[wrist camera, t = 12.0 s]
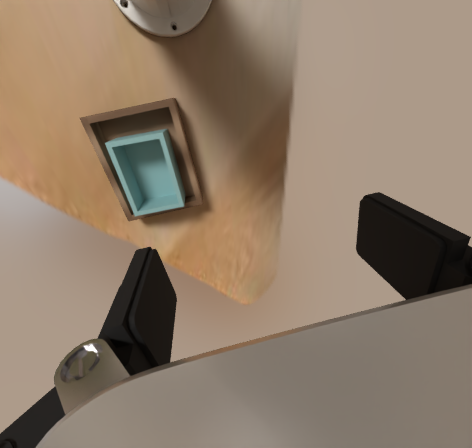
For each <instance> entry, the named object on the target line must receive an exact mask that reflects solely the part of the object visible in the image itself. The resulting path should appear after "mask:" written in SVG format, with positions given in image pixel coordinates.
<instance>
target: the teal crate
mask: <svg viewBox="0 0 472 448" xmlns="http://www.w3.org/2000/svg"><path fill="white" fill-rule="evenodd" d="M105 145H106V147H107V150H108V152H109V155H110V157H111V160H112V162H113V164H114V167H115V169H116V172H117V174H118V176H119V179H120V181H121V184H122V186H123V189H124V191H125V193H126V196H127V198H128V201H129V203H130V205H131V208H132V210H133V213H134V215H135V216H139V215H144V214H149V213H154V212H159V211H164V210H169V209H174V208H179V207H184V204H185V196H186V193H185V190H184V186H183V183H182V179H181V175H180V172H179V168H178V165H177V161H176V157H175V154H174V150H173V147H172V143H171V139H170V136H169V132H168V129H162V130H157V131H151V132H146V133H140V134H135V135H129V136H124V137H118V138H115V139H113V140H111V141H108V142H106V143H105Z"/></svg>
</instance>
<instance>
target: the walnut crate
mask: <svg viewBox="0 0 472 448" xmlns="http://www.w3.org/2000/svg"><path fill="white" fill-rule="evenodd" d="M80 120H81V122H82V124H83V126H84V129H85V131H86V133H87V135H88V137H89V139H90V141H91V143H92V145H93V147H94V150H95V152H96V154H97V156H98V158H99V160H100V162H101V164H102V166H103V169H104V171H105V173H106V175H107V177H108V179H109V181H110V183H111V185H112V188H113V190H114V192H115V194H116V196H117V198H118V200H119V202H120V204H121V207H122V209H123V211H124V213H125V215H126V217H127V219H128V221H132V220H137V219H141V218H145V217H149V216H154V215H158V214H162V213H166V212H171V211H175V210H179V209H184V208H188V207H192V206H196V205H201V204H203V196H202V192H201V188H200V185H199V181H198V178H197V174H196V170H195V167H194V163H193V160H192V156H191V153H190V149H189V145H188V142H187V138H186V135H185V131H184V127H183V124H182V120H181V117H180V113H179V109H178V106H177V102H176V99H175V98H171V99H166V100H161V101H157V102H152V103H147V104H143V105H138V106H133V107H129V108H124V109H119V110H115V111H110V112H105V113H101V114H96V115H91V116H86V117H82V118H80ZM162 129H168V132H169V136H170V139H171V143H172V147H173V150H174V154H175V157H176V161H177V165H178V168H179V172H180V175H181V179H182V183H183V186H184V190H185V193H186V196H185V204H184V207H179V208H174V209H169V210H164V211H159V212H154V213H149V214H144V215H139V216H135V215H134V213H133V210H132V208H131V205H130V203H129V201H128V198H127V196H126V193H125V191H124V189H123V186H122V184H121V181H120V179H119V176H118V174H117V172H116V169H115V167H114V164H113V162H112V160H111V157H110V155H109V152H108V150H107V147H106V145H105V143H106V142H108V141H111V140H113V139H115V138H118V137H124V136H129V135H135V134H140V133H146V132H151V131H157V130H162Z"/></svg>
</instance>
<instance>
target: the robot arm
mask: <svg viewBox="0 0 472 448" xmlns="http://www.w3.org/2000/svg"><path fill="white" fill-rule="evenodd" d="M113 1H114V2H115V4H116V5H117V6H118V8H119V9H120V10H121V11H122V12H123V14H124V15H125V16H126V17H127V18H128V19H129V20H130V21H132V22H133V23H134V24H135V25H137V26H138V27H139V28H141V29H143V30H145V31H146V32H148V33H151V34H154V35H157V36H162V37H175V36H180V35H182V34H185V33H187V32H189V31H190V30H192V29H193V28H195V27H196V26H197V25H198V24H199V23H200V22H201V20H202V19H203V18H204V16H205V15H206V13H207V11H208V9H209V7H210V4H211V2H212V0H113ZM125 3H127V4H128V7H127V8H125V7H124V4H125ZM173 26H176V27H177V29H176V30H173V29H172V27H173ZM470 238H471V237H469V236H467V235H465V234H463V233H461V232H459V231H457V230H455V229H453V228H451V227H449V226H447V225H445V224H443V223H441V222H439V221H437V220H435V219H433V218H431V217H429V216H427V215H424V214H423V213H421V212H418V211H416V210H414V209H412V208H410V207H408V206H406V205H404V204H402V203H400V202H398V201H396V200H394V199H392V198H390V197H388V196H386V195H384V194H382V193H379V192H378V193H373V194H369V195H365V196H364V197H363V199H362V200H361V201H360V208H359V220H358V231H357V244H356V250H357V253H358V254H359V256H361V258H362V259H364V260H365V261H366V262H367V263H368V264H369V265H370V266H371V267H372V268H373V269H374V270H375V271H376V272H377V273H378V274H379V275H380V276H382V277H383V278H384V279H385V280H386V281H387V282H388V283H389V284H390V285H391V286H392V287H393V288H394V289H395V290H396V291H397V292H399V293H400V294H401V295H402V296H403V297H404V298H405V299H406V300H405V301H401V302H397V303H393V304H389V305H385V306H381V307H377V308H373V309H369V310H365V311H361V312H357V313H353V314H350V315H346V316H342V317H339V318H334V319H330V320H326V321H323V322H319V323H315V324H311V325H307V326H304V327H300V328H296V329H292V330H288V331H284V332H281V333H277V334H273V335H269V336H265V337H262V338H258V339H254V340H250V341H247V342H243V343H239V344H235V345H232V346H228V347H224V348H220V349H217V350H213V351H209V352H206V353H202V354H199V355H196V356H192V357H188V358H184V359H181V360H178V361H174V362H170V358H171V349H172V340H173V330H174V321H175V312H176V311H175V310H176V302H177V298H176V294H175V291H174V289H173V286H172V284H171V282H170V279H169V277H168V275H167V272H166V270H165V268H164V265H163V263H162V261H161V259H160V256H159V254H158V252H157V250H156V249H153V250H152V248H151V247H147V248H143V249H138V250H136V251H135V254H134V256H133V259H132V261H131V263H130V266H129V268H128V271H127V273H126V275H125V278H124V280H123V282H122V285H121V286H120V287H119V289H118V292H117V294H116V296H115V299H114V301H113V304H112V306H111V308H110V311H109V313H108V315H107V318H106V320H105V322H104V325H103V327H102V329H101V332H100V334H99V336H98V339H92V340H89V341H86V342H84V343H82V344H80V345H79V346H77V347H76V348H74V349H73V350H72V351H71V352H70V353H69V354H67V356H66V357H65V358H64V359H63V360H62V361H61V363H60V364H59V366H58V368H57V370H56V372H55V376H54V384H55V387H54V388H53V389H51V391H49V392H48V393H47V394H46V395H45V396H43V397H42V398H41V399H40V400H39V401H38V402H36V404H34V405H33V406H32V407H31V408H30V409H28V410H27V411H26V412H25V413H24V414H23V415H21V416H20V417H19V418H18V419H17V420H16V421H14V422H13V423H12V424H11V425H10V426H9V427H8V428H6V429H5V430H4V431H3V432H2V433H1V434H0V448H472V247H470V246H468V243H469V240H470Z"/></svg>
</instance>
